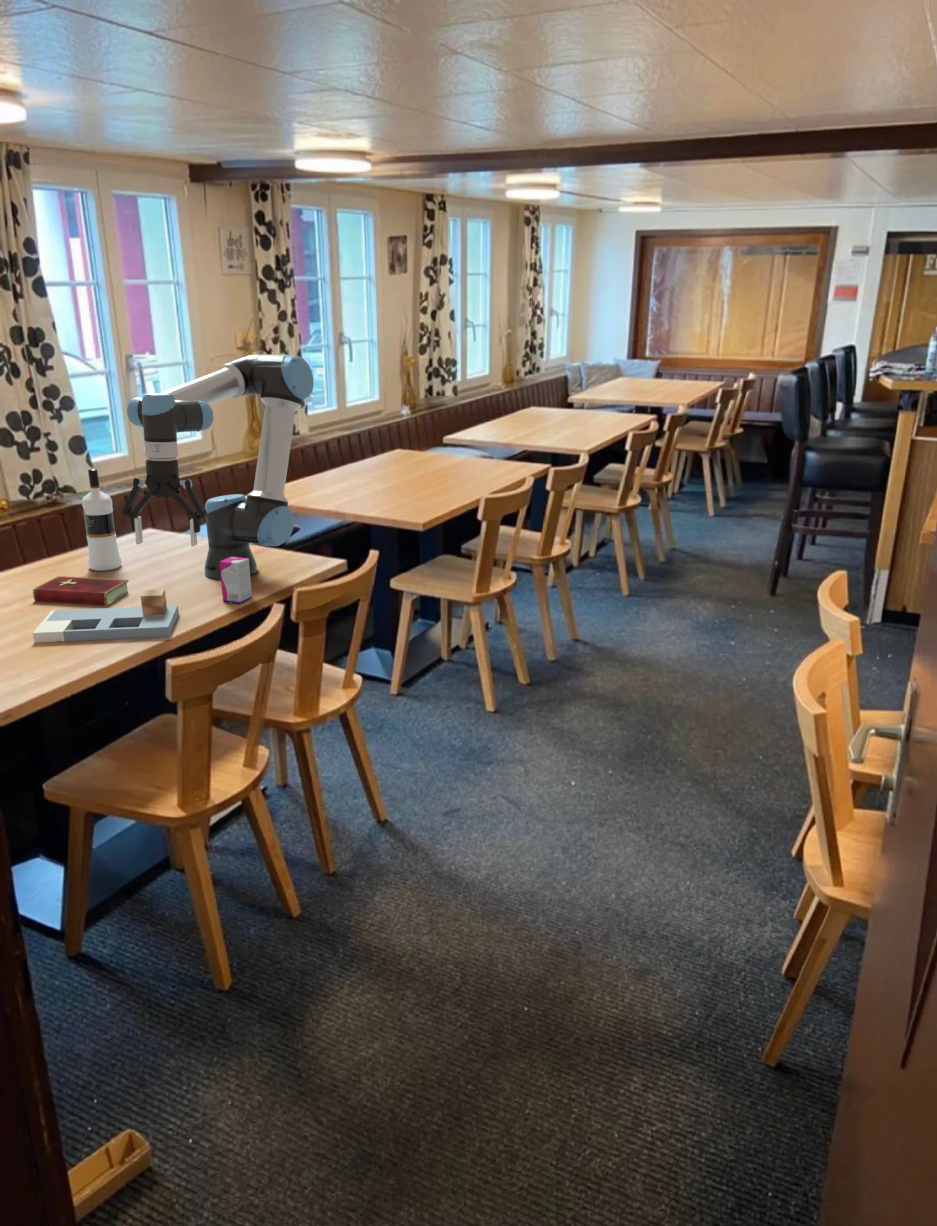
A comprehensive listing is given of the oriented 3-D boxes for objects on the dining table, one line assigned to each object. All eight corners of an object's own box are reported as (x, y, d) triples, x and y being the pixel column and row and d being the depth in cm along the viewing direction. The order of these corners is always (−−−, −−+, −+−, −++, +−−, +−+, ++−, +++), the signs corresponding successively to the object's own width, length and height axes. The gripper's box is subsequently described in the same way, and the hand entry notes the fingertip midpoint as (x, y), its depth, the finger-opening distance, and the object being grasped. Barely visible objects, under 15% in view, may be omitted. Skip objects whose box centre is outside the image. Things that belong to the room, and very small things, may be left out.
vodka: (119, 570, 262) (106, 471, 252) (86, 572, 260) (72, 472, 250) (123, 562, 271) (111, 465, 260) (91, 563, 269) (78, 466, 258)
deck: (178, 614, 227) (177, 605, 226) (169, 636, 212) (167, 626, 211) (53, 619, 222) (51, 610, 221) (34, 642, 207) (32, 632, 206)
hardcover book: (107, 607, 233) (105, 592, 231) (34, 603, 235) (32, 588, 234) (130, 593, 244) (128, 579, 242) (60, 589, 247) (58, 575, 245)
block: (166, 607, 224) (164, 589, 223) (163, 614, 220) (161, 595, 218) (146, 608, 224) (144, 589, 222) (142, 615, 219) (140, 596, 217)
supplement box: (252, 597, 240) (249, 557, 236) (240, 604, 235) (237, 563, 231) (234, 595, 242) (231, 555, 238) (222, 601, 237) (218, 561, 233)
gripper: (104, 458, 209) (110, 545, 215) (209, 462, 209) (212, 549, 215) (115, 455, 216) (122, 539, 222) (217, 458, 216) (220, 542, 222)
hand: (166, 544), depth 218 cm, fingers open, 13 cm apart
